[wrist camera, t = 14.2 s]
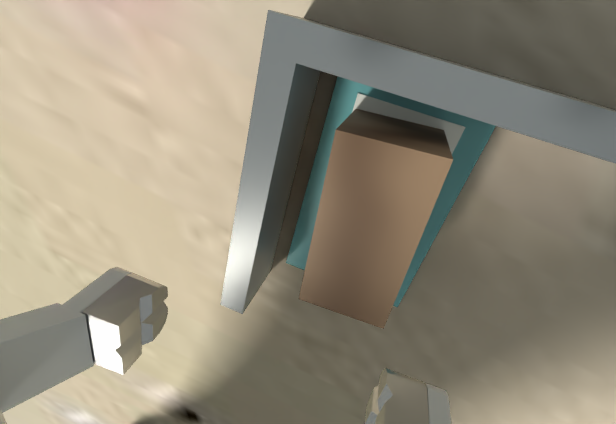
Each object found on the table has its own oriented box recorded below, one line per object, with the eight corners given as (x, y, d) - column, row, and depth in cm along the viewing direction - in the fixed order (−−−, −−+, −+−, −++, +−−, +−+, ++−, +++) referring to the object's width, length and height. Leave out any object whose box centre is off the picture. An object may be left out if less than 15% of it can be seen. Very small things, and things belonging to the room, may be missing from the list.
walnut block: (444, 129, 17) (453, 159, 12) (390, 270, 21) (383, 328, 17) (355, 108, 17) (335, 129, 13) (322, 248, 22) (298, 298, 17)
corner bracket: (453, 345, 22) (461, 408, 19) (251, 263, 24) (220, 304, 21) (622, 112, 15) (697, 136, 11) (303, 17, 16) (268, 9, 13)
